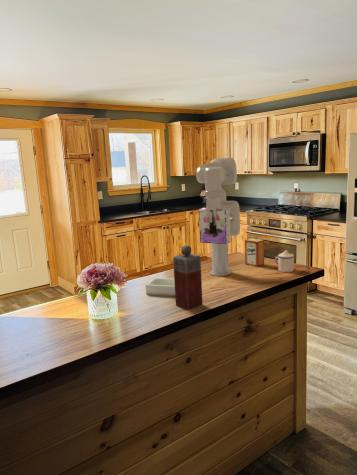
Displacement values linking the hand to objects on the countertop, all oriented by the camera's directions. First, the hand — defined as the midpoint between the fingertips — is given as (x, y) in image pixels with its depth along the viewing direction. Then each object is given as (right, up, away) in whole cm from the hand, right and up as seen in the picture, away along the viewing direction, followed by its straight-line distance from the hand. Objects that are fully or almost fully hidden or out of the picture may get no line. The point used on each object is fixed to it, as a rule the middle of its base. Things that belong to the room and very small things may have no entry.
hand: (214, 231), depth 181 cm
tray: (-22, -30, +13) cm, 40 cm away
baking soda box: (+30, -20, +54) cm, 65 cm away
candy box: (0, -5, +1) cm, 5 cm away
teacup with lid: (+44, -22, +40) cm, 63 cm away
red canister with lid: (-13, -34, -6) cm, 37 cm away
